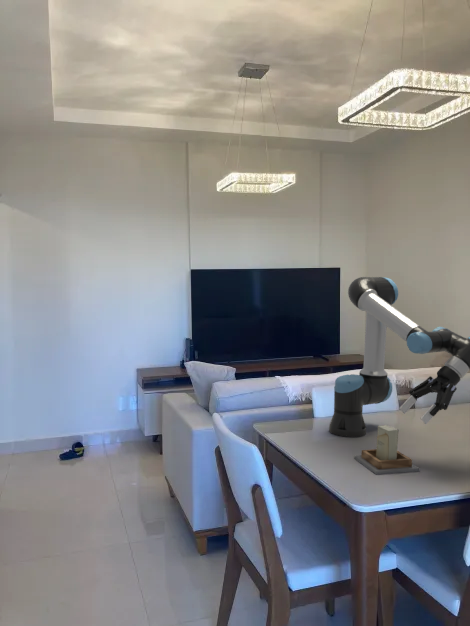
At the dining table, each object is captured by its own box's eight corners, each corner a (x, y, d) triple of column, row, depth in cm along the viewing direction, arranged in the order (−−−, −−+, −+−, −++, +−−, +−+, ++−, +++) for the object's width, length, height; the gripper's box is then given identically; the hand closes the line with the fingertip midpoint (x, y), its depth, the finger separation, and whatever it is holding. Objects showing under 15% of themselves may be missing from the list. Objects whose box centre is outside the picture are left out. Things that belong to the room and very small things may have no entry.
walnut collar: (361, 457, 192) (361, 450, 192) (392, 454, 195) (393, 448, 195) (378, 469, 180) (378, 461, 180) (411, 466, 183) (412, 459, 183)
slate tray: (354, 458, 194) (354, 455, 194) (394, 455, 197) (394, 452, 197) (376, 474, 178) (376, 471, 178) (419, 471, 182) (419, 468, 182)
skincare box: (375, 459, 190) (376, 425, 189) (385, 458, 191) (387, 424, 190) (386, 465, 184) (388, 430, 183) (397, 464, 185) (398, 429, 185)
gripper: (482, 386, 179) (439, 433, 177) (437, 372, 204) (400, 413, 201) (468, 371, 178) (426, 418, 176) (425, 359, 202) (387, 400, 200)
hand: (412, 416), depth 189 cm, fingers open, 13 cm apart
